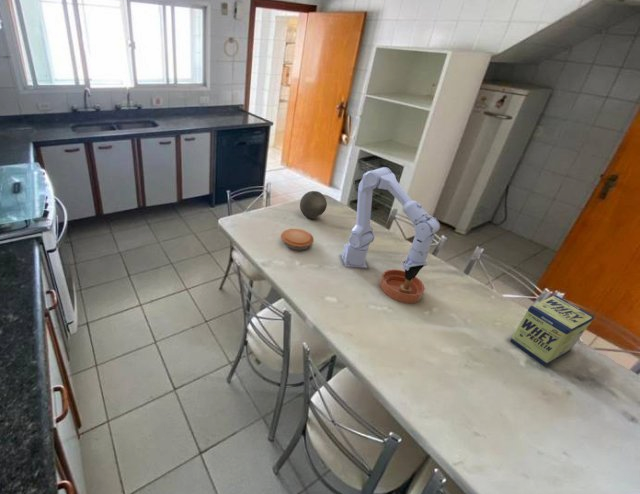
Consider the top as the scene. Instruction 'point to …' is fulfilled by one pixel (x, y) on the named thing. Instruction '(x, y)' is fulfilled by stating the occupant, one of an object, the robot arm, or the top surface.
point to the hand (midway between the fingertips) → (409, 278)
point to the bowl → (395, 279)
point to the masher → (406, 287)
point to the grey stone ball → (313, 204)
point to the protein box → (551, 329)
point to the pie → (297, 239)
